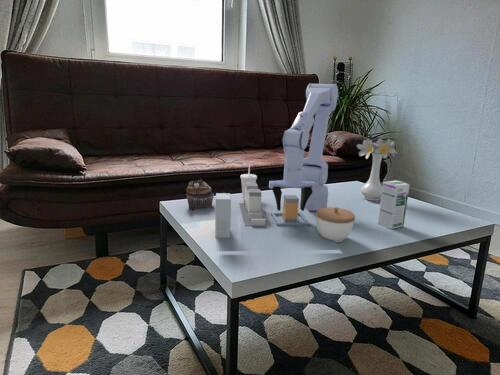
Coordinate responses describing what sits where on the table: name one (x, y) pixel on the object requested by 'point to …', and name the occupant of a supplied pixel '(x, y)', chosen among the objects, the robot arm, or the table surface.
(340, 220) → the lidded jar
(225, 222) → the skincare box
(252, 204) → the block
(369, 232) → the table surface
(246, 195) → the block
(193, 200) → the cupcake
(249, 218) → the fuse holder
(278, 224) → the tray
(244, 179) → the smoothie
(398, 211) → the syrup box
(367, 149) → the flower vase
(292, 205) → the block
